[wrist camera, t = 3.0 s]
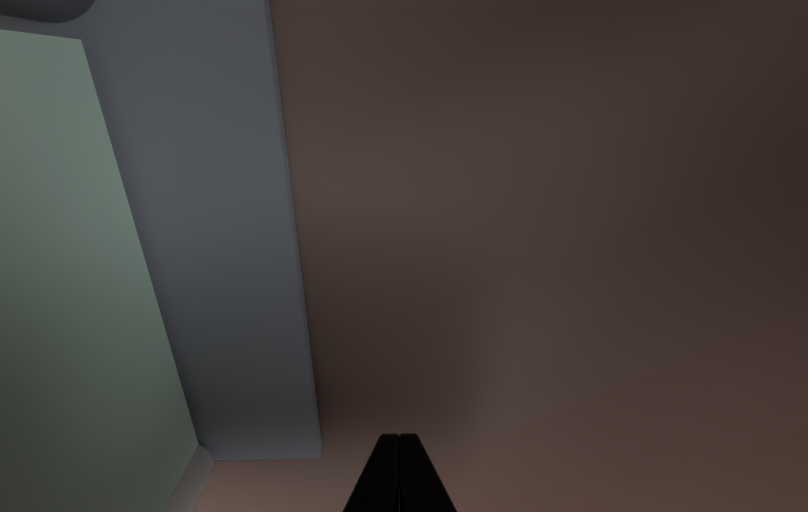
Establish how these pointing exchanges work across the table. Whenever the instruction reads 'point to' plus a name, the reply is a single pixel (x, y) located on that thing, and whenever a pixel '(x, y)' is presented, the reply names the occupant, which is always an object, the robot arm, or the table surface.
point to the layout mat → (210, 208)
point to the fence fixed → (45, 9)
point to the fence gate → (79, 309)
